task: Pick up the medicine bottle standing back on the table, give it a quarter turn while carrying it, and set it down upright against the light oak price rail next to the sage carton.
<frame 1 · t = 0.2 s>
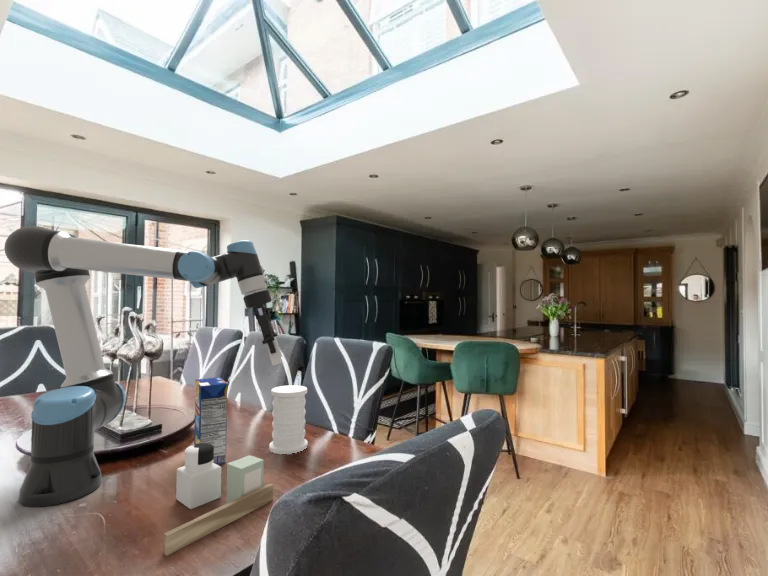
hand: (277, 361, 118), 27 cm above the table, tool tilted 20°, fingers open, 13 cm apart
price rail: (224, 523, 81), on the table
medicine bottle: (198, 499, 91), on the table
decorative container: (288, 448, 124), on the table
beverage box: (209, 459, 114), on the table
sage carton: (245, 502, 90), on the table
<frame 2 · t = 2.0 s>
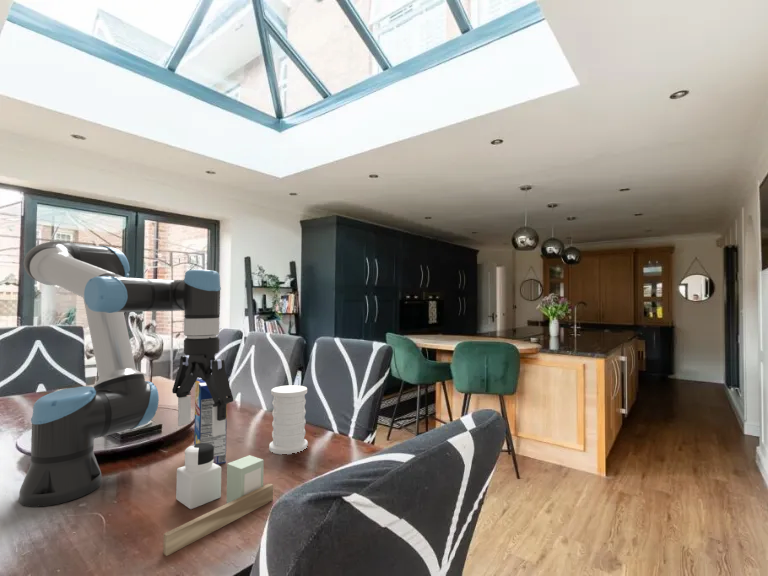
hand: (200, 429, 92), 16 cm above the table, tool pointing down, fingers open, 13 cm apart
nothing on the table moved.
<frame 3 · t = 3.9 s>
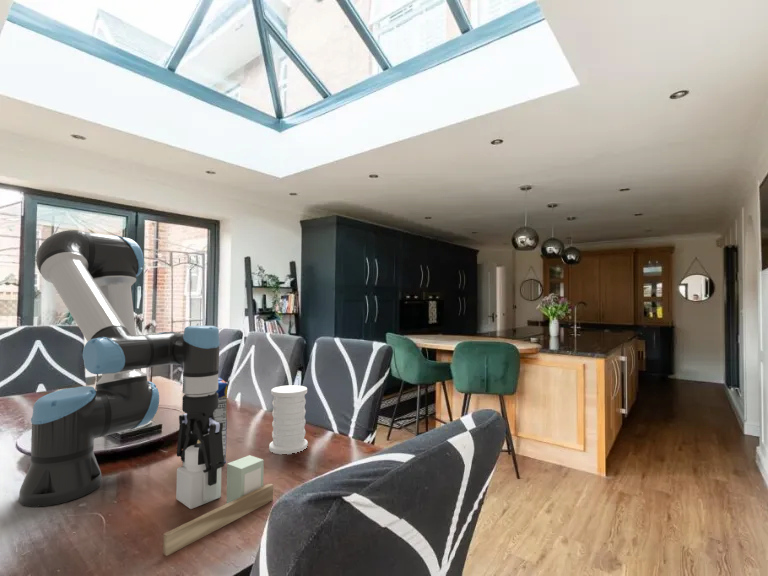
hand: (198, 493, 92), 1 cm above the table, tool pointing down, fingers closed on medicine bottle, 7 cm apart
medicine bottle: (198, 499, 91), on the table, touching gripper
everything else where it was.
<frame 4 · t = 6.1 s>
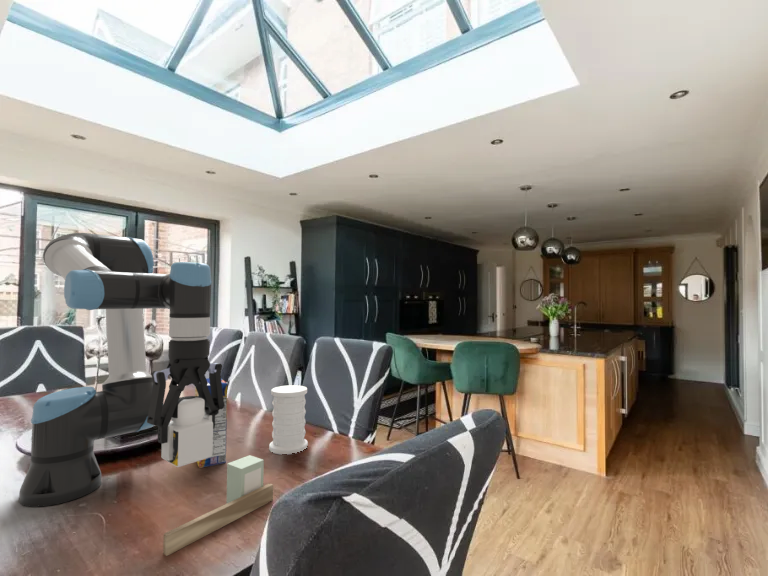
hand: (187, 451, 81), 15 cm above the table, tool pointing down, fingers closed on medicine bottle, 7 cm apart
medicine bottle: (187, 458, 81), point 13 cm above the table, touching gripper
everything else where it was.
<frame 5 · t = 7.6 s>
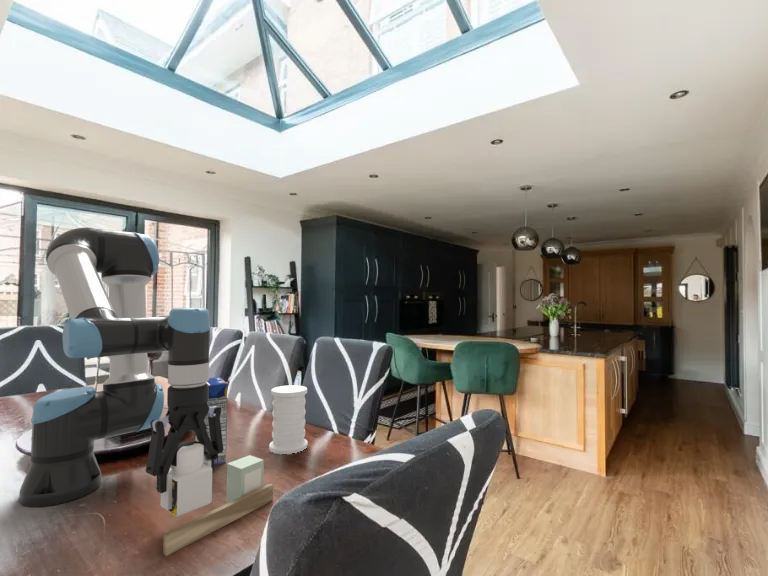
hand: (186, 498, 80), 6 cm above the table, tool pointing down, fingers closed on medicine bottle, 7 cm apart
medicine bottle: (186, 505, 80), point 4 cm above the table, touching gripper
everything else where it was.
when the fingers open (3 cm above the table, at t = 8.6 s): medicine bottle drops 1 cm, on the table.
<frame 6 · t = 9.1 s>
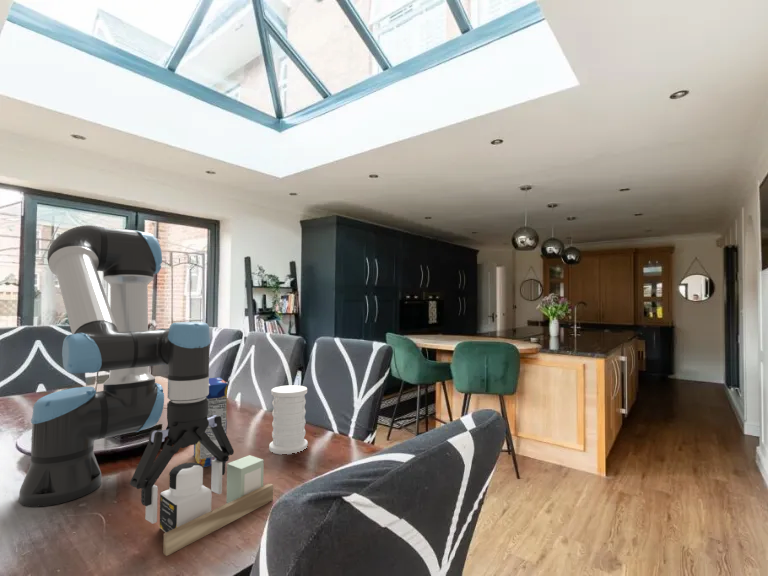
hand: (186, 505, 80), 4 cm above the table, tool pointing down, fingers open, 13 cm apart
medicine bottle: (185, 527, 80), on the table
everything else where it was.
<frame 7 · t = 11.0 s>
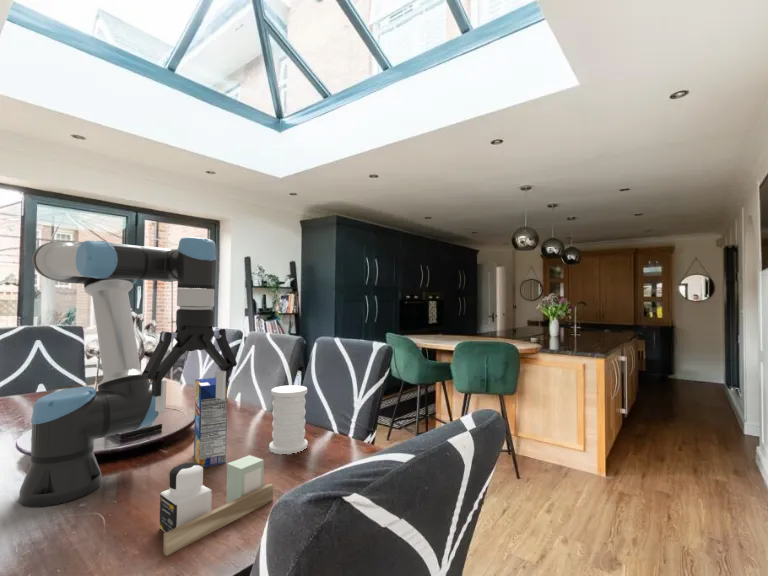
hand: (192, 404, 88), 22 cm above the table, tool pointing down, fingers open, 13 cm apart
nothing on the table moved.
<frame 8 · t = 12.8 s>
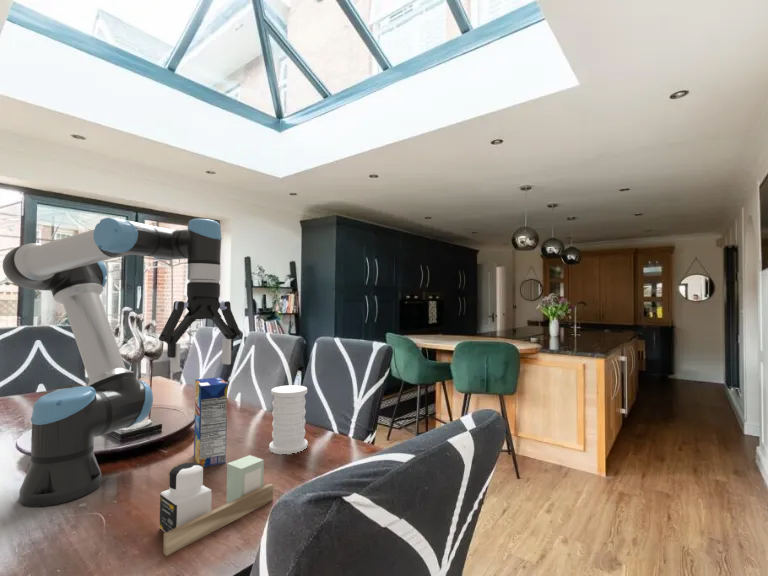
hand: (202, 367, 99), 29 cm above the table, tool pointing down, fingers open, 13 cm apart
nothing on the table moved.
at the end: medicine bottle inside the target area (0.2 cm from its centre), on the table; medicine bottle tilted 0°; the gripper is holding nothing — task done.
